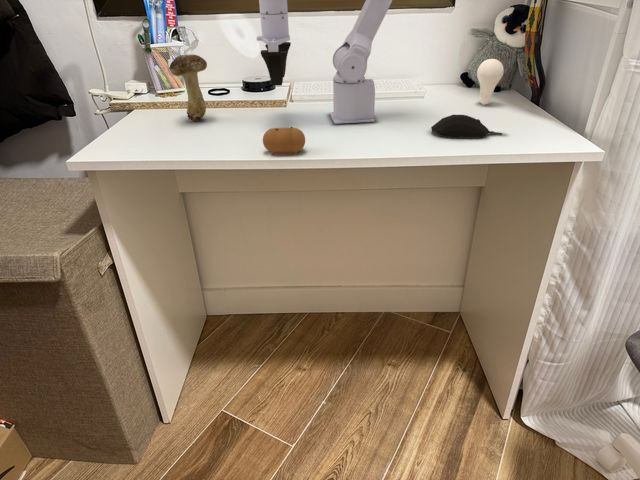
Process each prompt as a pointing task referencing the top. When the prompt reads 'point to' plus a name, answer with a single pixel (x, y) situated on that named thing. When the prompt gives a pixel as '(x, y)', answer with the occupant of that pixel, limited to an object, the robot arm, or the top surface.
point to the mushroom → (191, 82)
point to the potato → (284, 140)
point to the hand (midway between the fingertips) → (278, 81)
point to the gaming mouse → (461, 127)
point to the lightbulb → (489, 78)
